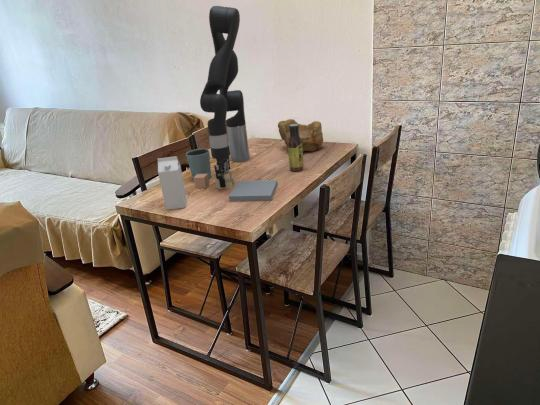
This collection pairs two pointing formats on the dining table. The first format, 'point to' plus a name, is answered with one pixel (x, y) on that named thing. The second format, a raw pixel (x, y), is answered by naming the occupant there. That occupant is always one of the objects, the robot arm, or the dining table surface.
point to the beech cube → (226, 180)
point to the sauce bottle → (295, 149)
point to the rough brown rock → (303, 134)
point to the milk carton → (172, 183)
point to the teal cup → (199, 162)
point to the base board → (254, 190)
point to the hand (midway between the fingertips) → (225, 184)
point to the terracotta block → (201, 181)
